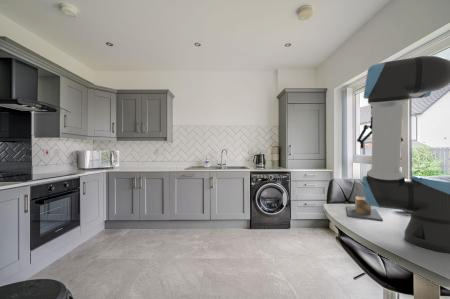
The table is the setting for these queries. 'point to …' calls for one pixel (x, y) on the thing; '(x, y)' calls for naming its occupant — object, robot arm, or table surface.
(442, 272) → the table surface
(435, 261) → the table surface
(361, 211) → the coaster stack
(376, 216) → the mat
